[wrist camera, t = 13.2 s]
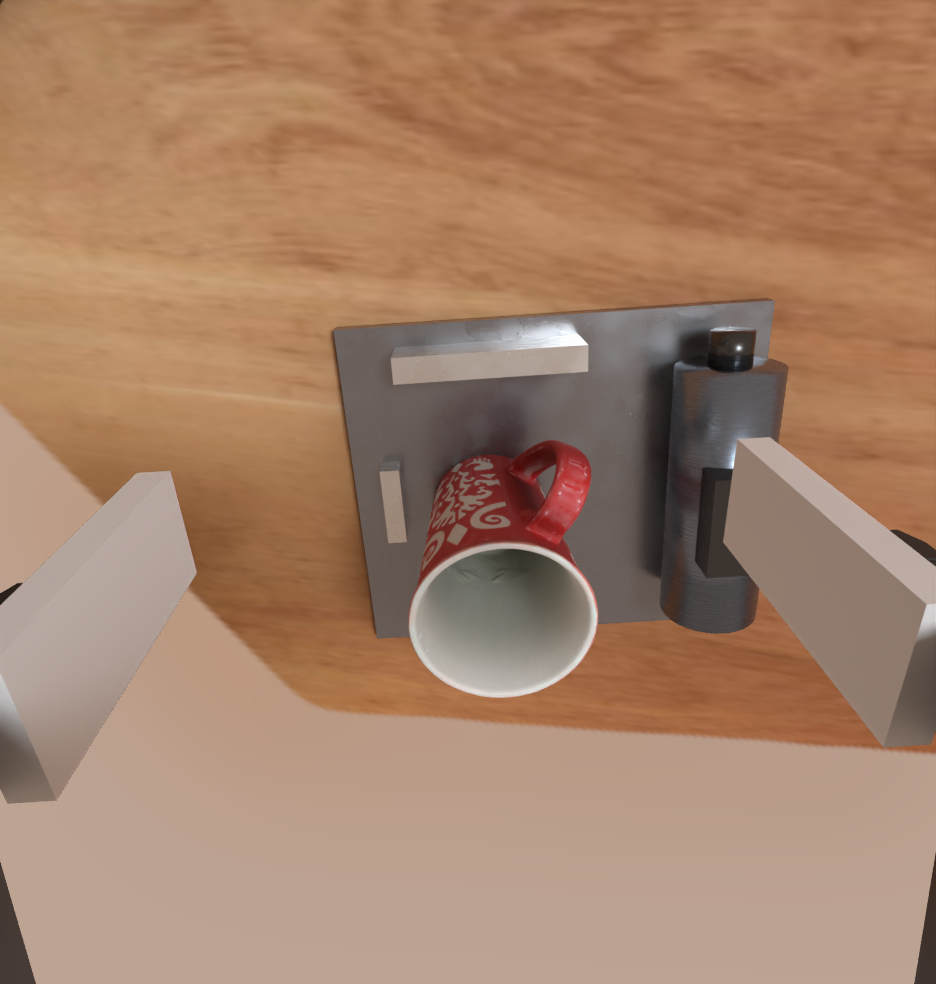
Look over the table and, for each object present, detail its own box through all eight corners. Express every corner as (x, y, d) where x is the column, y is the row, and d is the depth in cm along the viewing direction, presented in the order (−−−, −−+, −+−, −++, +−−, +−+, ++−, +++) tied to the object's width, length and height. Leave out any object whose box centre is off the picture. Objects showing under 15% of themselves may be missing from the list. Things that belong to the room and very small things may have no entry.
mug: (511, 586, 46) (533, 725, 34) (396, 529, 44) (375, 656, 32) (614, 436, 42) (683, 533, 30) (492, 366, 40) (511, 439, 28)
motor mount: (378, 630, 49) (364, 711, 41) (336, 327, 40) (308, 357, 32) (731, 607, 49) (785, 684, 41) (767, 298, 40) (843, 321, 32)
